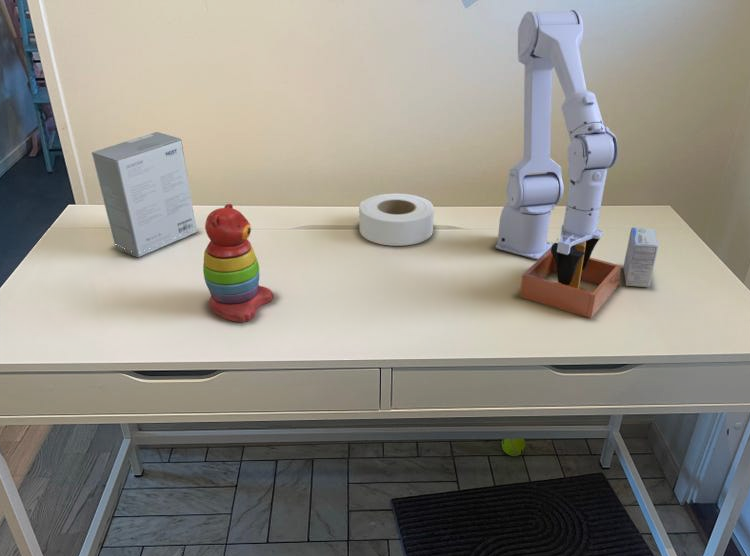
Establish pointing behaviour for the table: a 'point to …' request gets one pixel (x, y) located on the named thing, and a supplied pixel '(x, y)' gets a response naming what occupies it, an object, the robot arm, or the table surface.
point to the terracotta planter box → (567, 295)
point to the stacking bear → (232, 267)
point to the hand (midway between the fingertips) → (571, 275)
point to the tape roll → (396, 219)
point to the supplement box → (578, 266)
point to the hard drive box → (146, 192)
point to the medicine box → (640, 257)
